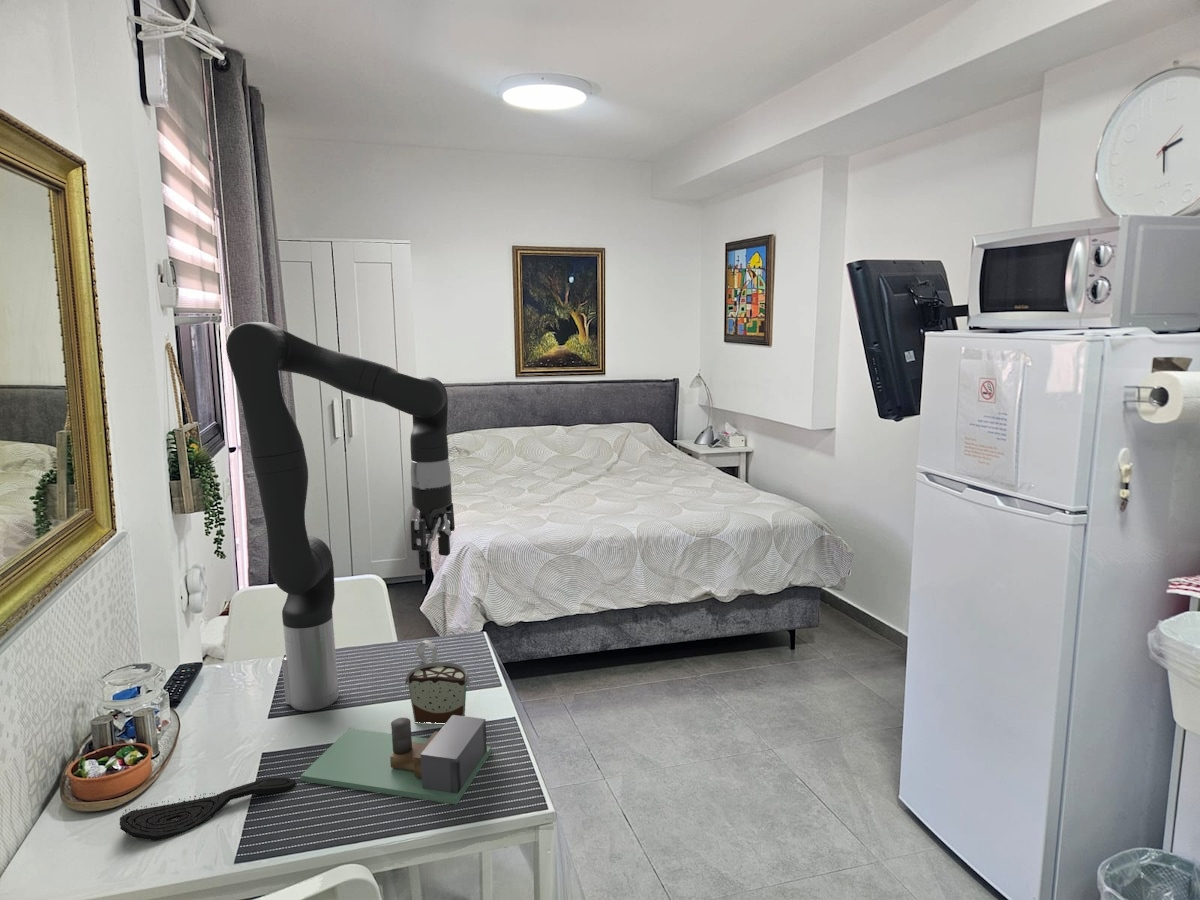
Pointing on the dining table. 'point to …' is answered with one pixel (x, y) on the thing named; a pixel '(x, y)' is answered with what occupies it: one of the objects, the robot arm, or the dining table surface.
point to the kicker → (406, 747)
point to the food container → (437, 691)
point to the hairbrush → (191, 811)
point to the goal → (453, 754)
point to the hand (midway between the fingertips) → (435, 561)
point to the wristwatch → (421, 649)
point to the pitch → (375, 768)
